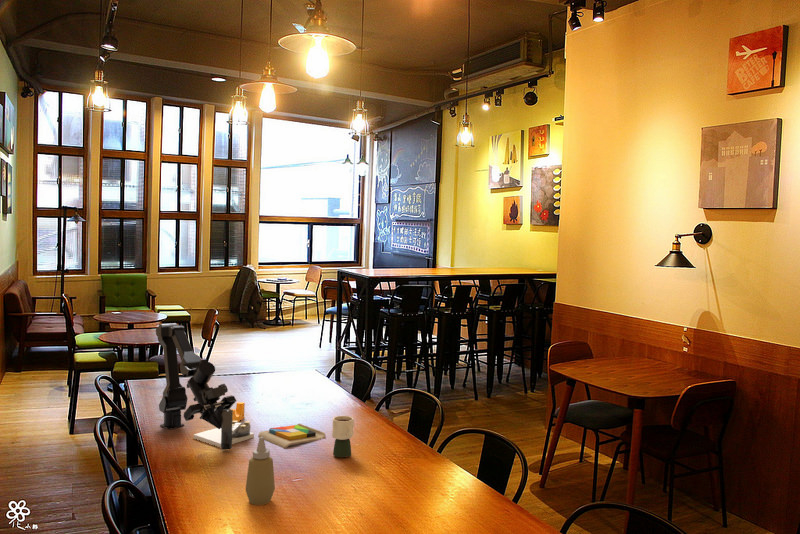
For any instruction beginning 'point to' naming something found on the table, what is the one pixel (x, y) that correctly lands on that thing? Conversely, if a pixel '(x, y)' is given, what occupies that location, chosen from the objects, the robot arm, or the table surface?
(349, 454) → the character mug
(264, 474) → the squeeze bottle
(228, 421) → the dark cylinder with bar
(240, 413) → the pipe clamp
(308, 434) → the wooden puzzle
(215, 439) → the cap plate
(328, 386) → the table surface
